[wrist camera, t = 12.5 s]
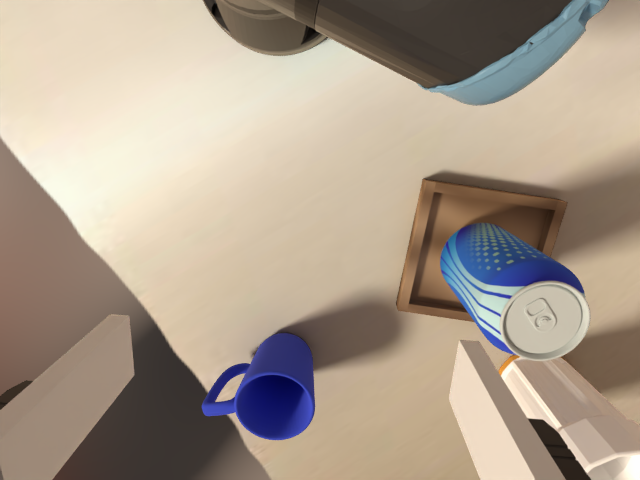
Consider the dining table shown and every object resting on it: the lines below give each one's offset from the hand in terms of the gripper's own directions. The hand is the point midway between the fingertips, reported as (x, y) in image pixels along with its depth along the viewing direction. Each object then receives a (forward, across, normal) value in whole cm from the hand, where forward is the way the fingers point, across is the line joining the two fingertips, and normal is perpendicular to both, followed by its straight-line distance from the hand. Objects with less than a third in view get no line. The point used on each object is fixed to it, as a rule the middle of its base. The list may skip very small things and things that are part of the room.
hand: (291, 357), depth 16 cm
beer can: (+30, +18, -5) cm, 35 cm away
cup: (+30, +28, -21) cm, 46 cm away
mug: (+30, -5, -20) cm, 37 cm away
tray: (+30, +18, -5) cm, 36 cm away
